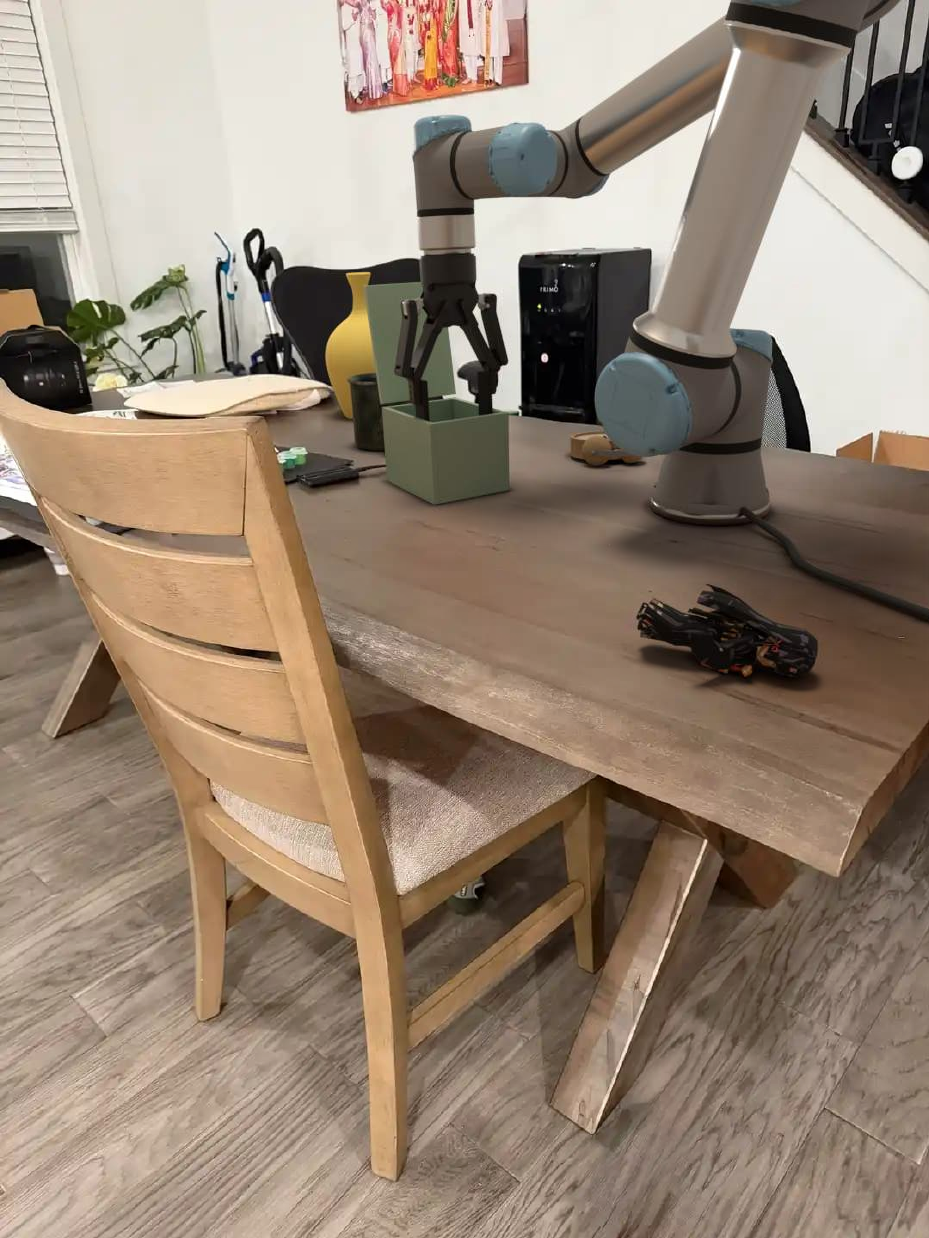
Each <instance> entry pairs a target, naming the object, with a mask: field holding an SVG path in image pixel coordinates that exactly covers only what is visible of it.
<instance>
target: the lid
mask: <svg viewBox="0 0 929 1238" xmlns="http://www.w3.org/2000/svg"><path fill="white" fill-rule="evenodd" d="M364 292H365V299H366V306H367V313H368V320H369V327H370V334H371V341H372V348H373V355H374V362H375V369H376V376H377V383H378V390H379V397H380V404H386V403H393V402H401V401H408V402H409V401H410V400H409V386H408V380H407V379H406V378H403V377H400V376H397V375H395V373H394V368H395V362H396V355H397V349H398V342H399V336H400V330H401V323H402V313H401V306H400V303H401V301H402V300H403V299H406V300H413V299H418V298H420V296H421V293H422V285H421V281H419V282H418V281H414V282H400V283H399V282H398V283H386V284H385V283H383V284H371V285H369V284H368V286H364ZM420 311H421V313H420V314H419V316H418V326H417V332H416V338H415V344H414V350H413V355H414V352H415V350H416V347H417V344H418V342H419V339H420V337H421V334H422V332H423V324H424V322H425V319H426V317H427V314H426V312H425V311H424V310H423V308H421V310H420ZM421 379H422V380H426V381H427V384H428V399H430V398H436V397H437V398H438V397H444V396H445V397H446V396H452V395H456V394H457V391H456V390H457V389H456V381H455V375H454V365H453V356H452V348H451V340H450V332H449V327H446V328H443V329H442V332H441V333H440V334H439V335H438V337H437V340H436V342H435V345H434V348H433V350H432V353H431V355H430V358H429V360H428V363H427V366H426V368H425V371H424V373H423V376H422V378H421Z"/></svg>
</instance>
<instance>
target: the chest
mask: <svg viewBox="0 0 929 1238" xmlns="http://www.w3.org/2000/svg"><path fill="white" fill-rule="evenodd" d="M428 401H429V418H430V422H429V421H426V420H423V419H420V418H417V417H416V410H415V405H414V404H411V402H409V403H408V404H403V405H395V406H388V407H382V417H383V431H384V444H385V450H384V456H385V457H384V458H385V469H386V471H385V472H386V481H387V482H388V483H391V484H392V485H395V486H396V487H398V488H399V489H402V490H404V491H406V492H408V493H410V494H412V495H414V496H416V497H418V498H420V499H422V500H423V501H426V502H428V503H430V504H431V505H434V506H435V505H441V504H445V503H450V502H456V501H461V500H466V499H471V498H476V497H482V496H486V495H492V494H496V493H502V492H505V491H506V492H507V491H510V419H509V416H510V415H509V414H510V413H509V412H508V411H505V410H501V409H498V408H493V414H488V415H481V416H479V406H478V403H476V402H473V401H469V400H465V399H462V398H458V397H448V398H440V399H432V400H428Z"/></svg>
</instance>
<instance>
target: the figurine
mask: <svg viewBox="0 0 929 1238" xmlns="http://www.w3.org/2000/svg"><path fill="white" fill-rule="evenodd" d="M705 585H706V586H708V587H710V588H711V590H712V591H709V590H702V591H701V592H700V594H699V595H698V598H697V601H696V604H698V605H700V606H703V607H707V608H710V609H713V610H710V611H709V610H704V609H701V608H698V607H692V608H689V609H688V610H687V612H683V611H681V610H679V609H676V608H675V607H673V606H671V605H669V604H667V603H665V602H663V601H661V600H660V599H658V598H656V597H652V599H651V600H650V602H648V603H647V602H642V603H641V606H640V608H639V610H638V612H637V615H636V616H635V618H636V619H637V621H638V623H637V627H636V629H637V631H640V638H644V639H648V640H654V641H659V642H664V643H667V644H669V645H672V646H674V647H687V648H690V651H691V653H692V654H693V655H694V658H695V659H697V660H698V662H699V663H700V664H701V666H704V667H706V668H709V669H711V670H714V671H718V672H722V673H725V674H728V673H729V672H731V673H735V674H739V675H743V676H744V677H748V676H750V675H751V674H752V673H753V671H754V667H755V664H756V660H758V662H759V663H760V664H761V665H763V666H766V667H771V668H773V669H774V670H773V672H774V673H777V674H779V675H781V676H787V677H789V678H791V677H793V678H798V677H802V676H804V675H807V674H809V672H811V671H812V670H813V668H814V666H815V664H816V659H817V658H818V653H819V641H818V639H817V638H816V637H815V635H813V634H812V633H811V632H809V631H808V630H807V629H804V628H800V627H795V626H791V625H787V624H782V623H779V622H777V621H773V620H771V619H770V618H768V617H766V616H764V615H762V614H761V613H759V612H757V610H755V609H754V608H753V607H752V606H750V605H749V604H748V603H747V602H745V601H744V600H743V599H742V598H740V597H739V596H737V595H736V594H734V593H733V592H731V591H728V590H726V589H724V588H722V587H719V586H715V585H712V584H710V583H705ZM759 647H760V648H759ZM758 648H759V650H758Z"/></svg>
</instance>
